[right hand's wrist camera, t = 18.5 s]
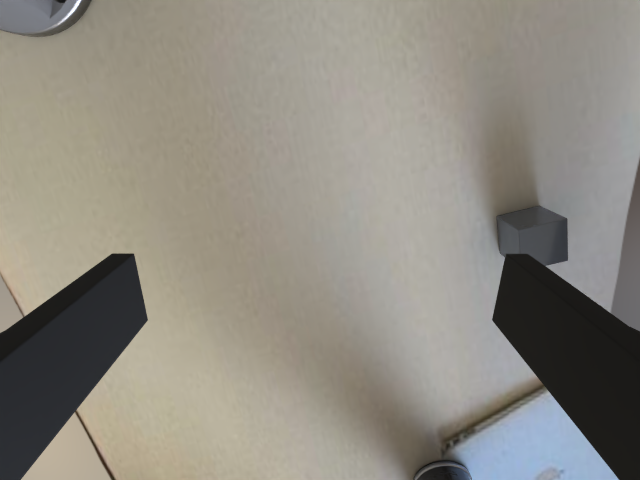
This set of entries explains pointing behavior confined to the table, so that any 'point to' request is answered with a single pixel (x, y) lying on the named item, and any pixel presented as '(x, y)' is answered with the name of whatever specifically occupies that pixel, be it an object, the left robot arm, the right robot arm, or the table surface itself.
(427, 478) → the left robot arm
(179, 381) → the table surface
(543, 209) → the slate cube
